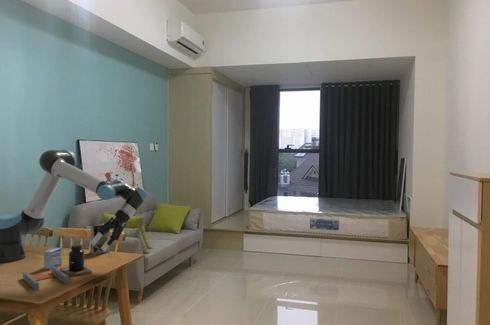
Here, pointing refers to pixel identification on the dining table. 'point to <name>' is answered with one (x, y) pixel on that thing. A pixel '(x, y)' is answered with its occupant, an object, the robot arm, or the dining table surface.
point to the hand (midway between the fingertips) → (97, 246)
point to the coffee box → (97, 247)
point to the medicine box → (52, 258)
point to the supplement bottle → (76, 258)
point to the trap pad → (43, 276)
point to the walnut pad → (72, 274)
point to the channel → (55, 271)
